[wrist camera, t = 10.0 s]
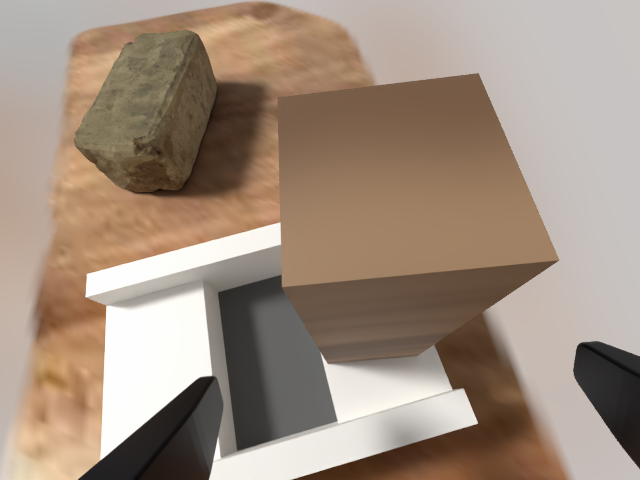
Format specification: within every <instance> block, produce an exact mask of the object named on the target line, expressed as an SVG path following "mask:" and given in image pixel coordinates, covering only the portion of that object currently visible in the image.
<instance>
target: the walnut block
mask: <svg viewBox="0 0 640 480" xmlns="http://www.w3.org/2000/svg"><path fill="white" fill-rule="evenodd" d="M278 136H279V181H280V225H281V270H282V288H283V290H284V292H285V293H286V295H287V297H288V298H289V300H290V302H291V303H292V305H293V307H294V308H295V310H296V312H297V313H298V315H299V317H300V318H301V320H302V322H303V323H304V325H305V327H306V328H307V330H308V332H309V334H310V335H311V337H312V339H313V340H314V342H315V344H316V345H317V347H318V349H319V350H320V352H321V354H322V355H323V357H324V359H325V360H326V362H327V364H330V363H341V362H353V361H364V360H376V359H387V358H399V357H410V356H418V355H420V354H421V353H422V352H424V351H425V350H427V349H428V348H430V347H431V346H433V345H434V344H436V343H437V342H439V341H440V340H442V339H443V338H445V337H446V336H448V335H449V334H451V333H452V332H454V331H455V330H457V329H458V328H460V327H461V326H463V325H464V324H465V323H467V322H468V321H470V320H471V319H473V318H474V317H476V316H477V315H479V314H480V313H482V312H483V311H485V310H486V309H488V308H489V307H491V306H492V305H494V304H495V303H497V302H498V301H500V300H501V299H503V298H504V297H505V296H507V295H508V294H510V293H511V292H513V291H514V290H516V289H517V288H519V287H520V286H522V285H523V284H525V283H526V282H528V281H529V280H531V279H532V278H534V277H535V276H536V275H538V274H540V273H541V272H543V271H544V270H546V269H547V268H549V267H550V266H551V265H553V264H554V263H556V262H557V261H559V258H558V256H557V254H556V252H555V249H554V247H553V245H552V242H551V240H550V238H549V235H548V233H547V231H546V228H545V226H544V224H543V221H542V219H541V217H540V215H539V212H538V210H537V208H536V205H535V203H534V201H533V198H532V196H531V194H530V191H529V189H528V187H527V184H526V182H525V180H524V178H523V175H522V173H521V171H520V168H519V166H518V164H517V161H516V159H515V157H514V154H513V152H512V150H511V147H510V145H509V143H508V140H507V138H506V136H505V134H504V131H503V129H502V127H501V124H500V122H499V120H498V117H497V115H496V113H495V110H494V108H493V106H492V104H491V101H490V99H489V97H488V94H487V92H486V90H485V87H484V85H483V83H482V80H481V78H480V76H479V74H469V75H461V76H453V77H444V78H437V79H428V80H420V81H411V82H404V83H395V84H386V85H378V86H370V87H362V88H353V89H345V90H337V91H328V92H320V93H312V94H304V95H295V96H287V97H279V98H278Z"/></svg>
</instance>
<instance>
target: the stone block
mask: <svg viewBox="0 0 640 480" xmlns="http://www.w3.org/2000/svg"><path fill="white" fill-rule="evenodd" d="M216 92H217V82H216V80H215V77H214V74H213V71H212V67H211V64H210V60H209V57H208V55H207V52H206V49H205V47H204V45H203V43H202V41H201V39H200V37H199V35H198V34H196V33H194V32H192V31H189V30H182V31H176V32H168V33H142V34H141V35H139V36H138V37H137V38H136V39H135V43H131V42H129V43H127V44H125V45H124V47H123V49H122V50H121V53H120V56H119V58H118V59H117V60H116V61H115V62H114V64H113V67H112V69H111V71H110V73H109V75H108V76H107V78H106V80H105V82H104V84H103V86H102V88H101V90H100V92H99V94H98V96H97V98H96V99H95V101H94V103H93V105H92V106H91V107H90V108H89V110H88V111H87V112H86V114H85V116H84V117H83V120H82V124H81V125H80V127H79V129H78V130H77V131H76V133H75V139H74V142H75V146H76V148H77V149H78V150H79V151H80V152H81V153H82V154H83V155H84V156H85V157H86V158H87V159H88V160H89V161H90V162H92V163H94V164H95V165H96V166H97V168H98V169H99V170H100V171H102V172H103V173H104V174H105V175H106V176H107V177H108V178H109V179H110V180H111V181H112V182H113V183H114V184H115V185H117V186H119V187H121V188H122V189H127V190H131V191H133V192H155V191H156V190H157V189H163V190H165V189H169V190H178V189H180V188H182V187H183V184H184V182H185V181H186V180H187V179H188V178H189V176H190V174H191V171H192V167H193V164H194V162H195V160H196V157H197V153H198V150H199V146H200V143H201V140H202V137H203V135H204V133H205V131H206V127H207V124H208V121H209V117H210V112H211V110H212V108H213V105H214V102H215V98H216Z"/></svg>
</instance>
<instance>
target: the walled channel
mask: <svg viewBox="0 0 640 480" xmlns="http://www.w3.org/2000/svg"><path fill="white" fill-rule="evenodd" d="M86 298H89V299H91V300H94V301H96V302H99V303H101V304H104V305H107V312H106V337H105V362H104V388H103V413H102V438H101V460H102V459H103V458H104V457H105V456H106V455H108V454H109V453H110V452H111V451H112V450H113V449H115V448H116V447H117V446H118V445H119V444H121V443H122V442H123V441H124V440H125V439H127V438H128V437H129V436H130V435H131V434H132V433H134V432H135V431H136V430H137V429H138V428H140V427H141V426H142V425H143V424H144V423H145V422H147V421H148V420H149V419H150V418H151V417H153V416H154V415H155V414H156V413H157V412H158V411H160V410H161V409H162V408H163V407H164V406H166V405H167V404H168V403H169V402H170V401H171V400H173V399H174V398H175V397H176V396H177V395H179V394H180V393H181V392H182V391H183V390H185V389H186V388H187V387H188V386H189V385H190V384H192V383H193V382H194V381H195V380H196V379H198V378H199V377H203V376H215V377H216V378H217V379H218V382H219V386H220V390H221V394H222V398H223V404H224V407H223V414H222V420H221V425H220V430H219V435H218V440H217V445H216V450H215V455H214V460H213V465H212V470H211V474H210V478H209V480H292V479H295V478H298V477H302V476H305V475H308V474H312V473H315V472H318V471H322V470H325V469H328V468H332V467H335V466H338V465H342V464H345V463H348V462H352V461H355V460H358V459H362V458H365V457H368V456H372V455H375V454H378V453H382V452H385V451H388V450H392V449H395V448H398V447H402V446H405V445H408V444H412V443H415V442H418V441H422V440H425V439H428V438H432V437H435V436H438V435H442V434H445V433H448V432H452V431H455V430H458V429H462V428H465V427H468V426H472V425H475V424H478V422H477V419H476V417H475V415H474V412H473V410H472V407H471V405H470V403H469V400H468V398H467V396H466V393H465V391H464V389H455V390H452V387H451V385H450V382H449V380H448V377H447V375H446V372H445V370H444V368H443V365H442V363H441V360H440V358H439V355H438V353H437V350H436V348H435V345H433V346H431V347H430V348H428V349H427V350H425V351H424V352H422V353H421V354H420V355H418V356H410V357H399V358H387V359H376V360H364V361H353V362H341V363H330V364H327V362H326V360H325V359H324V357H323V355H322V354H321V352H320V350H319V349H318V347H317V345H316V344H315V342H314V340H313V339H312V337H311V335H310V334H309V332H308V330H307V328H306V327H305V325H304V323H303V322H302V320H301V318H300V317H299V315H298V313H297V312H296V310H295V308H294V307H293V305H292V303H291V302H290V300H289V298H288V297H287V295H286V293H285V292H284V290H283V288H282V270H281V225H280V223H277V224H273V225H269V226H265V227H262V228H258V229H254V230H250V231H247V232H243V233H239V234H235V235H232V236H228V237H224V238H221V239H217V240H213V241H209V242H206V243H202V244H198V245H194V246H191V247H187V248H183V249H179V250H176V251H172V252H168V253H164V254H161V255H157V256H153V257H149V258H146V259H142V260H138V261H135V262H131V263H127V264H123V265H120V266H116V267H112V268H108V269H105V270H101V271H97V272H93V273H90V274H87V285H86Z"/></svg>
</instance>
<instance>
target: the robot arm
mask: <svg viewBox="0 0 640 480" xmlns="http://www.w3.org/2000/svg"><path fill="white" fill-rule="evenodd" d="M573 372H574V376H575V379H576V381H577V382H578V384H579V385H580V387H581V388H582V390H583V391H584V393H585V394H586V396H587V397H588V399H589V400H590V402H591V403H592V404H593V406H594V407H595V409H596V410H597V412H598V413H599V415H600V416H601V417H602V419H603V420H604V422H605V423H606V425H607V426H608V428H609V429H610V431H611V432H612V434H613V435H614V436H615V438H616V439H617V441H618V442H619V443H620V445H621V446H622V447H623V449H624V450H625V451H626V452H627V454H628V455H629V456H630V457H631V459H632V460H633V461H634V462H635V464H636V465H637V466H638V467H639V469H640V356H637V355H634V354H632V353H629V352H626V351H624V350H621V349H618V348H615V347H613V346H610V345H607V344H605V343H602V342H598V341H593V342H583V343H580V344H579V345H578V346H577V349H576V356H575V362H574V369H573ZM223 407H224V404H223V398H222V394H221V390H220V386H219V382H218V379H217V378H216V377H215V376H203V377H199V378H198V379H196V380H195V381H194V382H193V383H192V384H190V385H189V386H188V387H187V388H186V389H185V390H183V391H182V392H181V393H180V394H179V395H177V396H176V397H175V398H174V399H173V400H171V401H170V402H169V403H168V404H167V405H166V406H164V407H163V408H162V409H161V410H160V411H158V412H157V413H156V414H155V415H154V416H153V417H151V418H150V419H149V420H148V421H147V422H145V423H144V424H143V425H142V426H141V427H140V428H138V429H137V430H136V431H135V432H134V433H132V434H131V435H130V436H129V437H128V438H127V439H125V440H124V441H123V442H122V443H121V444H119V445H118V446H117V447H116V448H115V449H113V450H112V451H111V452H110V453H109V454H108V455H106V456H105V457H104V458H103V459H102V460H100V461H99V462H98V463H97V464H96V465H95V466H93V467H92V468H91V469H90V470H89V471H87V472H86V473H85V474H84V475H83V476H81V477H80V478H79V479H78V480H209V478H210V474H211V470H212V465H213V460H214V455H215V450H216V445H217V440H218V435H219V430H220V425H221V420H222V414H223Z"/></svg>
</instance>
